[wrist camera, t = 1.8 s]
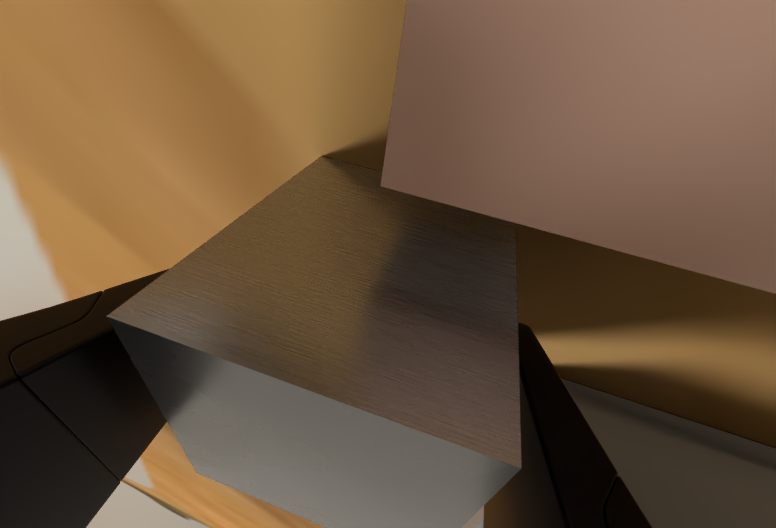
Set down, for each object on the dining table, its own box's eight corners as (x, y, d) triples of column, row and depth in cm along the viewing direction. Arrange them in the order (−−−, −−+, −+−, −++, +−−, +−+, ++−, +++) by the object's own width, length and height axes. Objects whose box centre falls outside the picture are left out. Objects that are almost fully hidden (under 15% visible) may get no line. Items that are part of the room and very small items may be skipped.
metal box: (515, 205, 8) (521, 469, 3) (457, 337, 11) (420, 567, 6) (322, 155, 9) (107, 316, 4) (319, 293, 12) (196, 472, 7)
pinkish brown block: (987, -142, 4) (1951, -457, 1) (708, 194, 7) (836, 310, 4) (493, -194, 5) (472, -457, 2) (426, 125, 8) (379, 186, 5)
